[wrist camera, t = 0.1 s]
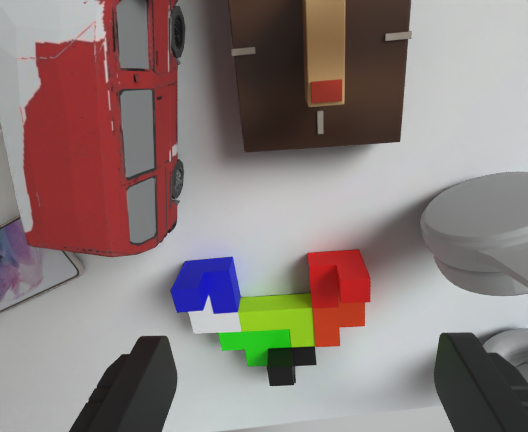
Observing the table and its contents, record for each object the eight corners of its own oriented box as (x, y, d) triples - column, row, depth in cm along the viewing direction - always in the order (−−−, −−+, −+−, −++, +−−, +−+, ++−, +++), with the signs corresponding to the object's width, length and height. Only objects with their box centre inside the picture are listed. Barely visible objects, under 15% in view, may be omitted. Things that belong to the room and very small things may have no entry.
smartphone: (-85, 272, 31) (30, 208, 28) (-76, 267, 32) (38, 204, 28) (-30, 328, 33) (84, 275, 30) (-22, 322, 34) (89, 270, 31)
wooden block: (301, -17, 18) (304, -39, 14) (334, -21, 18) (346, -44, 14) (305, 100, 21) (308, 107, 17) (334, 97, 20) (345, 104, 17)
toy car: (211, -46, 20) (148, -136, 11) (183, 221, 28) (132, 296, 19) (64, -78, 20) (-119, -195, 11) (77, 199, 28) (-27, 264, 19)
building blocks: (211, 367, 35) (201, 405, 31) (185, 260, 30) (169, 289, 26) (360, 362, 33) (369, 402, 29) (359, 248, 28) (370, 278, 24)
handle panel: (227, -56, 20) (217, -77, 17) (402, -79, 19) (422, -105, 16) (248, 143, 25) (242, 153, 22) (389, 133, 24) (402, 142, 21)
